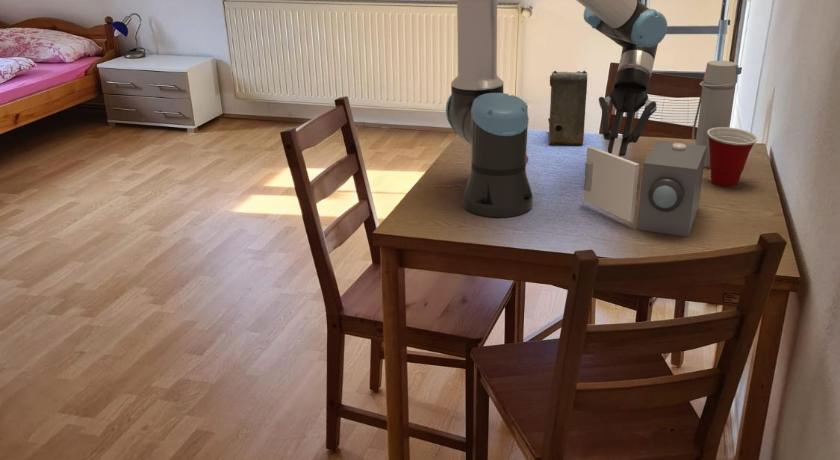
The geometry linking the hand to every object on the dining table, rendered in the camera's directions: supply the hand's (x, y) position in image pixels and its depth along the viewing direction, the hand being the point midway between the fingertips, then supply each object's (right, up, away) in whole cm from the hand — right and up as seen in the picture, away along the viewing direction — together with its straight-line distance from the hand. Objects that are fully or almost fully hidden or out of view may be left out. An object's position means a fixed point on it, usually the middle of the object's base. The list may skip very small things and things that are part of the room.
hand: (613, 167), depth 169 cm
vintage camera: (-2, +12, +47) cm, 48 cm away
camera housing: (+9, -12, -9) cm, 17 cm away
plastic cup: (+29, -3, +11) cm, 31 cm away
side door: (-3, -10, -7) cm, 12 cm away
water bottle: (+29, +3, +25) cm, 38 cm away
